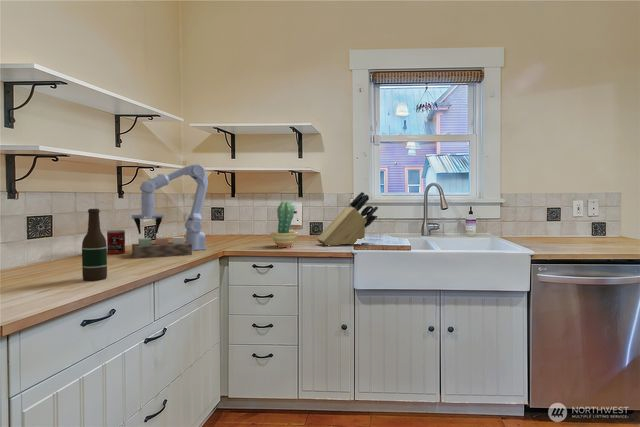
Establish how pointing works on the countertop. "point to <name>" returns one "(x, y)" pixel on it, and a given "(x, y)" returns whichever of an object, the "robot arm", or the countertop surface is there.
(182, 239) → the key cream
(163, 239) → the key terracotta
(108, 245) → the canned food
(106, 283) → the countertop surface
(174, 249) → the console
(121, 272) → the countertop surface
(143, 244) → the key green
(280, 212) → the potted cactus
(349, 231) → the knife block
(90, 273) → the beer bottle
